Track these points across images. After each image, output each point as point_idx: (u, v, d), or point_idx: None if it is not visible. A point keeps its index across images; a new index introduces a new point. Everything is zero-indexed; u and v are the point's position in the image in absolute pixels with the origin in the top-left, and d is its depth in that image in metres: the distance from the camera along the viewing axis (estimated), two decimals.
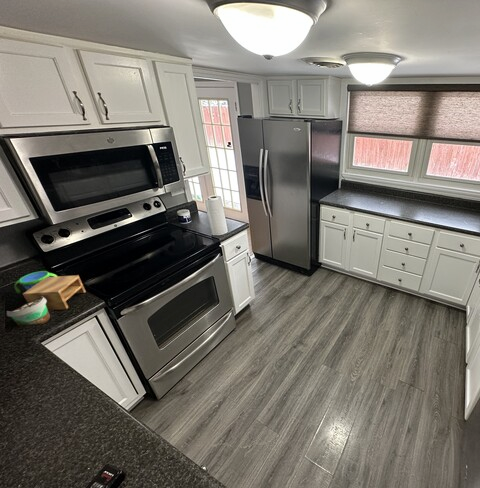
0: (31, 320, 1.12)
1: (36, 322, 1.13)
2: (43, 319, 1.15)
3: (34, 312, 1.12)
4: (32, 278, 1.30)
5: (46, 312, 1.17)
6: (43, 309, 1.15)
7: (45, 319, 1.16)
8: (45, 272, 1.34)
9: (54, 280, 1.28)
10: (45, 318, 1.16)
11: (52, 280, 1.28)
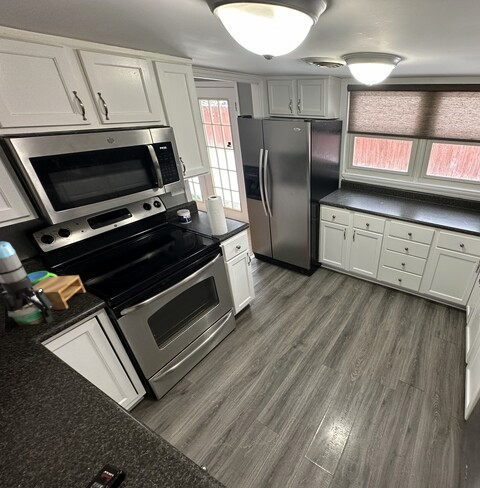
0: (33, 320, 1.12)
1: (38, 322, 1.13)
2: None
3: (36, 312, 1.12)
4: (32, 278, 1.30)
5: None
6: None
7: None
8: (45, 272, 1.34)
9: (54, 280, 1.28)
10: None
11: (52, 280, 1.28)
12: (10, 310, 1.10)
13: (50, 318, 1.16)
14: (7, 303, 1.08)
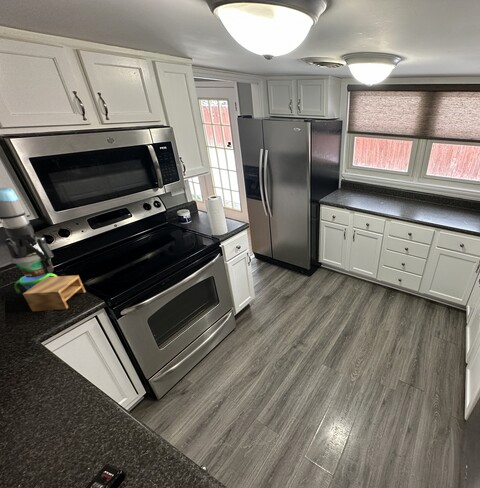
0: (36, 268, 1.16)
1: (41, 271, 1.17)
2: None
3: (39, 260, 1.16)
4: (32, 278, 1.30)
5: None
6: None
7: None
8: None
9: (54, 280, 1.28)
10: None
11: (52, 280, 1.28)
12: (15, 258, 1.14)
13: (51, 268, 1.20)
14: (11, 250, 1.12)
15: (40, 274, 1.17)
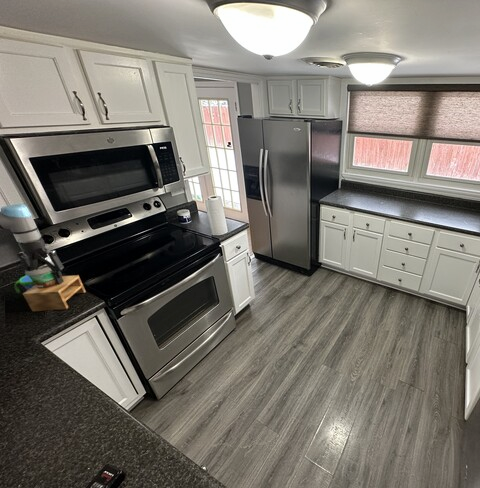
0: (48, 280, 1.22)
1: (52, 282, 1.23)
2: None
3: (50, 272, 1.22)
4: None
5: None
6: None
7: None
8: None
9: None
10: None
11: None
12: (27, 270, 1.20)
13: (61, 279, 1.26)
14: (24, 263, 1.18)
15: (51, 285, 1.23)
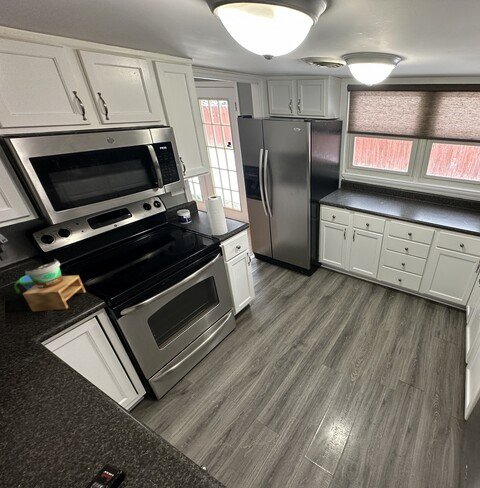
0: (48, 280, 1.22)
1: (52, 282, 1.23)
2: (58, 280, 1.25)
3: (50, 272, 1.22)
4: None
5: (60, 274, 1.27)
6: (58, 271, 1.25)
7: (60, 280, 1.26)
8: None
9: None
10: (60, 279, 1.26)
11: None
12: None
13: (5, 255, 1.08)
14: None
15: (51, 285, 1.23)
